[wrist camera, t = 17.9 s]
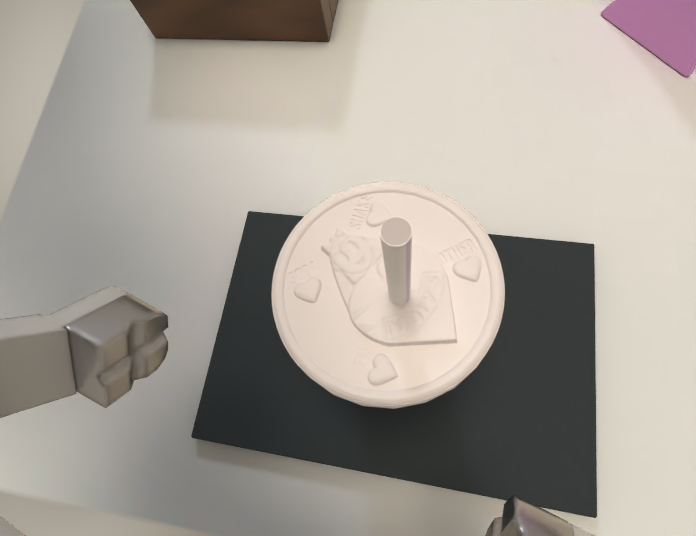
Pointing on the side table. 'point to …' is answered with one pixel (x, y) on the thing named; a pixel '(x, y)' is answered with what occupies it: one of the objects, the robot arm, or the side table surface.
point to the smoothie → (388, 294)
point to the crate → (239, 19)
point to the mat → (439, 413)
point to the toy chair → (660, 28)
